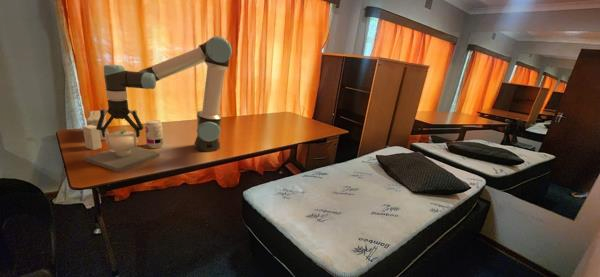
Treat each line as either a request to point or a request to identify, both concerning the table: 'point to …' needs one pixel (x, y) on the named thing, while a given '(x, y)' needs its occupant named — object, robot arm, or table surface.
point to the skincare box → (92, 137)
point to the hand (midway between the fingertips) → (122, 143)
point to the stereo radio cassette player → (96, 120)
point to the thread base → (121, 158)
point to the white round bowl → (121, 140)
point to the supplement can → (154, 133)
